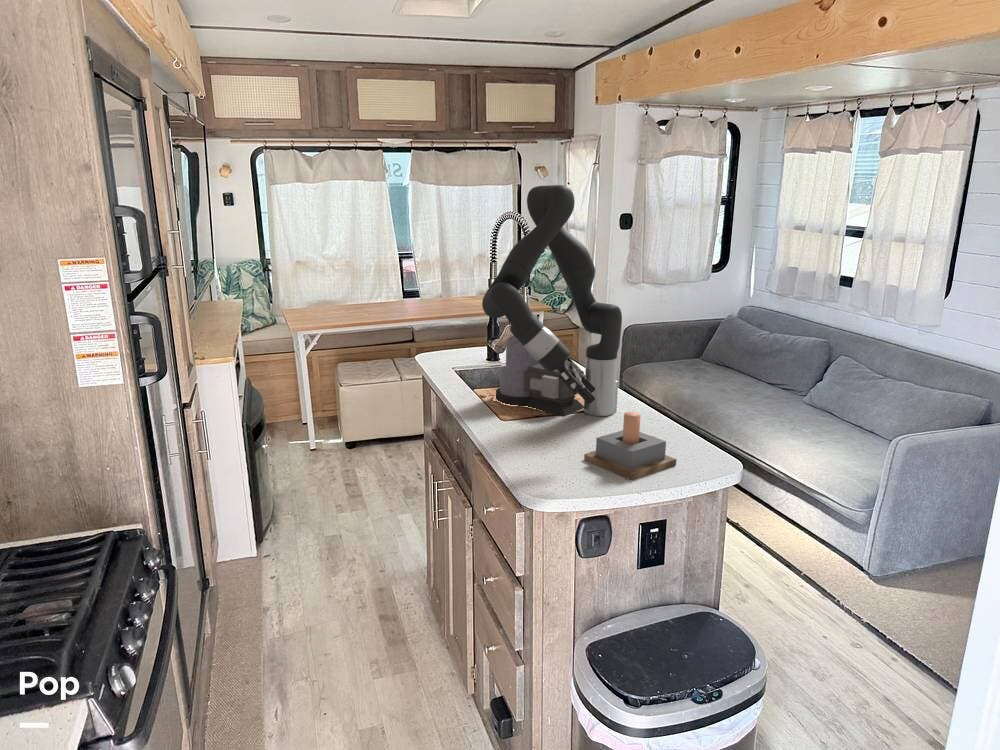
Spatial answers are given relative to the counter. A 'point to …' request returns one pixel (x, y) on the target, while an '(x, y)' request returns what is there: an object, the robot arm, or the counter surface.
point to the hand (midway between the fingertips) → (592, 396)
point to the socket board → (626, 471)
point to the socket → (630, 449)
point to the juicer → (533, 383)
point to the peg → (631, 428)
